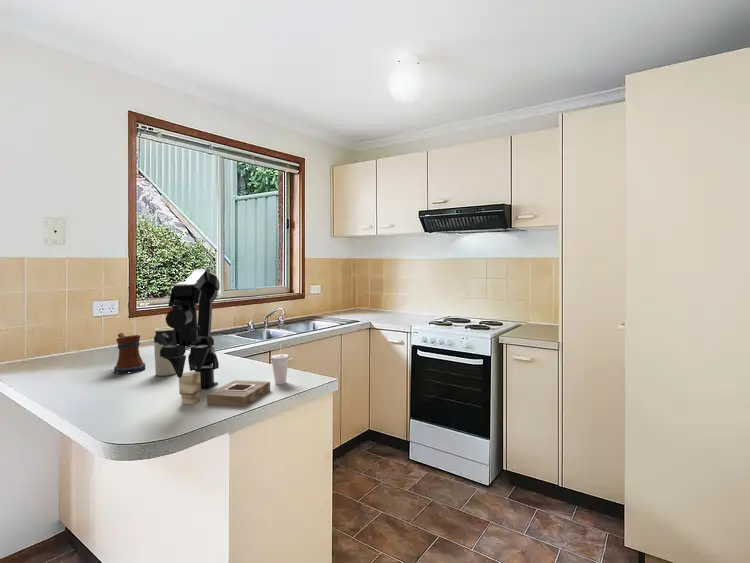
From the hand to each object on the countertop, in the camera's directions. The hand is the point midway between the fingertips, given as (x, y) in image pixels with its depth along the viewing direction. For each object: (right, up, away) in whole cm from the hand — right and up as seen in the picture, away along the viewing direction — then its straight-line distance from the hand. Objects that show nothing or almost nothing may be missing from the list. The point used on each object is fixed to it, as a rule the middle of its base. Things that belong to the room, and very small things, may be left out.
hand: (189, 373), depth 135 cm
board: (+14, -9, +4) cm, 17 cm away
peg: (0, -9, 0) cm, 9 cm away
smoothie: (+24, -8, +19) cm, 32 cm away
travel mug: (-24, -8, +36) cm, 44 cm away
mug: (-45, -8, +45) cm, 64 cm away
